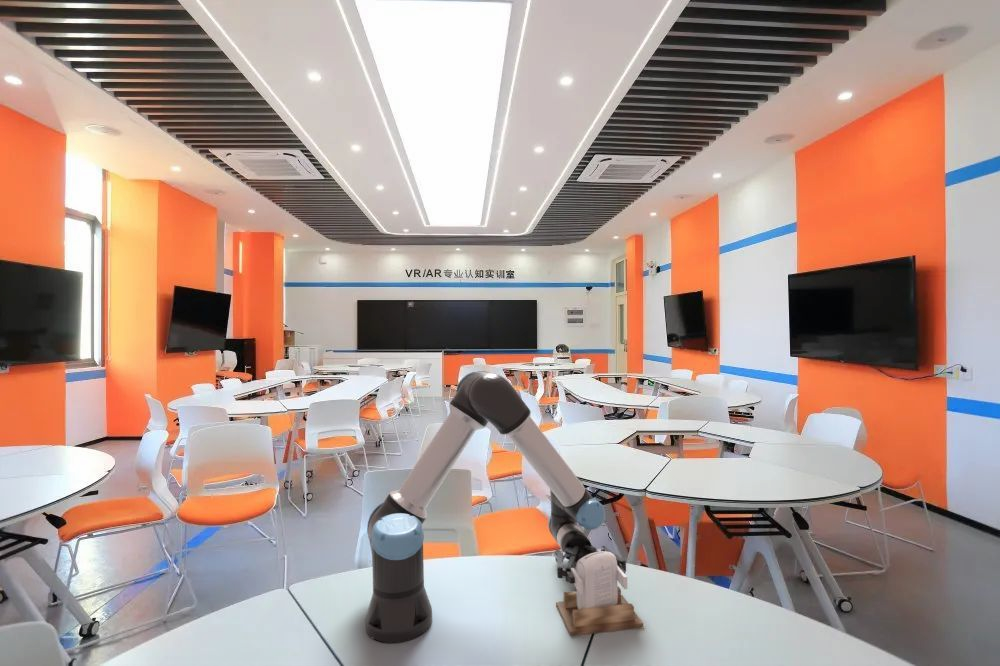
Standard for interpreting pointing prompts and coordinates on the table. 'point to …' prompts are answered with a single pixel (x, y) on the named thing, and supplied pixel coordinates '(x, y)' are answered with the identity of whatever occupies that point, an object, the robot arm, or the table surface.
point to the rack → (597, 616)
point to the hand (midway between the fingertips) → (603, 585)
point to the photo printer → (597, 580)
